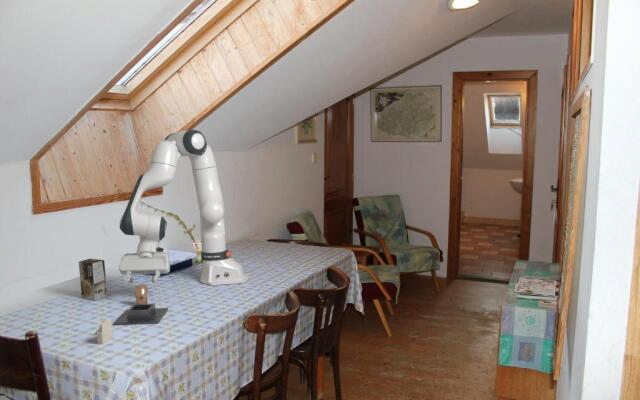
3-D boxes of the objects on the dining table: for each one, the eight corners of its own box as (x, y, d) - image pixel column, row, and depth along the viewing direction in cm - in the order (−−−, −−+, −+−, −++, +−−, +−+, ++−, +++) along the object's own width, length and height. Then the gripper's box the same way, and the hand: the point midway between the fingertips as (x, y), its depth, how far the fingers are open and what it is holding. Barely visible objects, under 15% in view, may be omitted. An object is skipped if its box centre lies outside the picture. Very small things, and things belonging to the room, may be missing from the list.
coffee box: (107, 297, 239) (105, 259, 238) (95, 301, 234) (92, 263, 232) (93, 294, 244) (91, 257, 242) (80, 298, 239) (78, 261, 237)
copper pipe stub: (149, 303, 228) (147, 284, 227) (146, 307, 224) (145, 287, 223) (138, 304, 228) (137, 284, 227) (135, 307, 224) (133, 287, 223)
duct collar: (168, 309, 219) (167, 300, 219) (158, 323, 203) (157, 313, 203) (126, 311, 219) (126, 301, 218) (113, 325, 203) (112, 315, 203)
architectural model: (93, 345, 185) (91, 323, 184) (105, 337, 192) (104, 316, 191) (102, 345, 184) (101, 323, 184) (114, 338, 191) (113, 317, 190)
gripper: (120, 249, 234) (114, 278, 225) (170, 248, 235) (165, 277, 226) (124, 257, 239) (118, 286, 230) (172, 256, 239) (168, 285, 231)
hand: (142, 281), depth 228 cm, fingers open, 8 cm apart
